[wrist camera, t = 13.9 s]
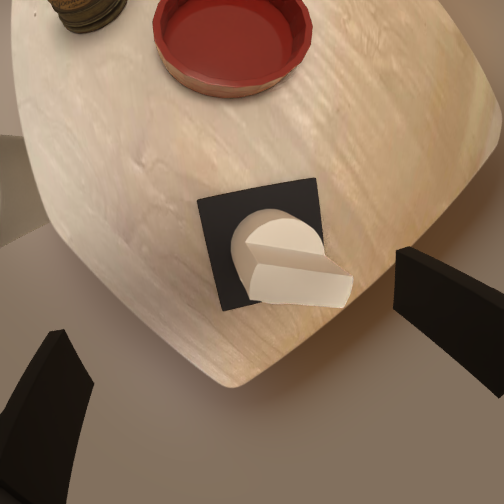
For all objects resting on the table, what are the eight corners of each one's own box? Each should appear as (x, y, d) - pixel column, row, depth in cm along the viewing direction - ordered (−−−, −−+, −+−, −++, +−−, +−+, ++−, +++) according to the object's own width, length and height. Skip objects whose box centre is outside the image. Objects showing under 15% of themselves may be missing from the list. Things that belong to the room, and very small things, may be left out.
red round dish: (167, 110, 28) (162, 101, 23) (153, -2, 23) (148, -22, 18) (309, 91, 30) (326, 81, 25) (282, -14, 25) (294, -33, 20)
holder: (222, 308, 36) (222, 311, 35) (196, 199, 32) (196, 200, 31) (324, 282, 38) (327, 285, 37) (313, 177, 33) (316, 177, 33)
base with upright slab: (312, 216, 34) (365, 243, 23) (294, 286, 36) (334, 337, 25) (239, 201, 32) (263, 223, 21) (224, 277, 34) (239, 331, 23)
